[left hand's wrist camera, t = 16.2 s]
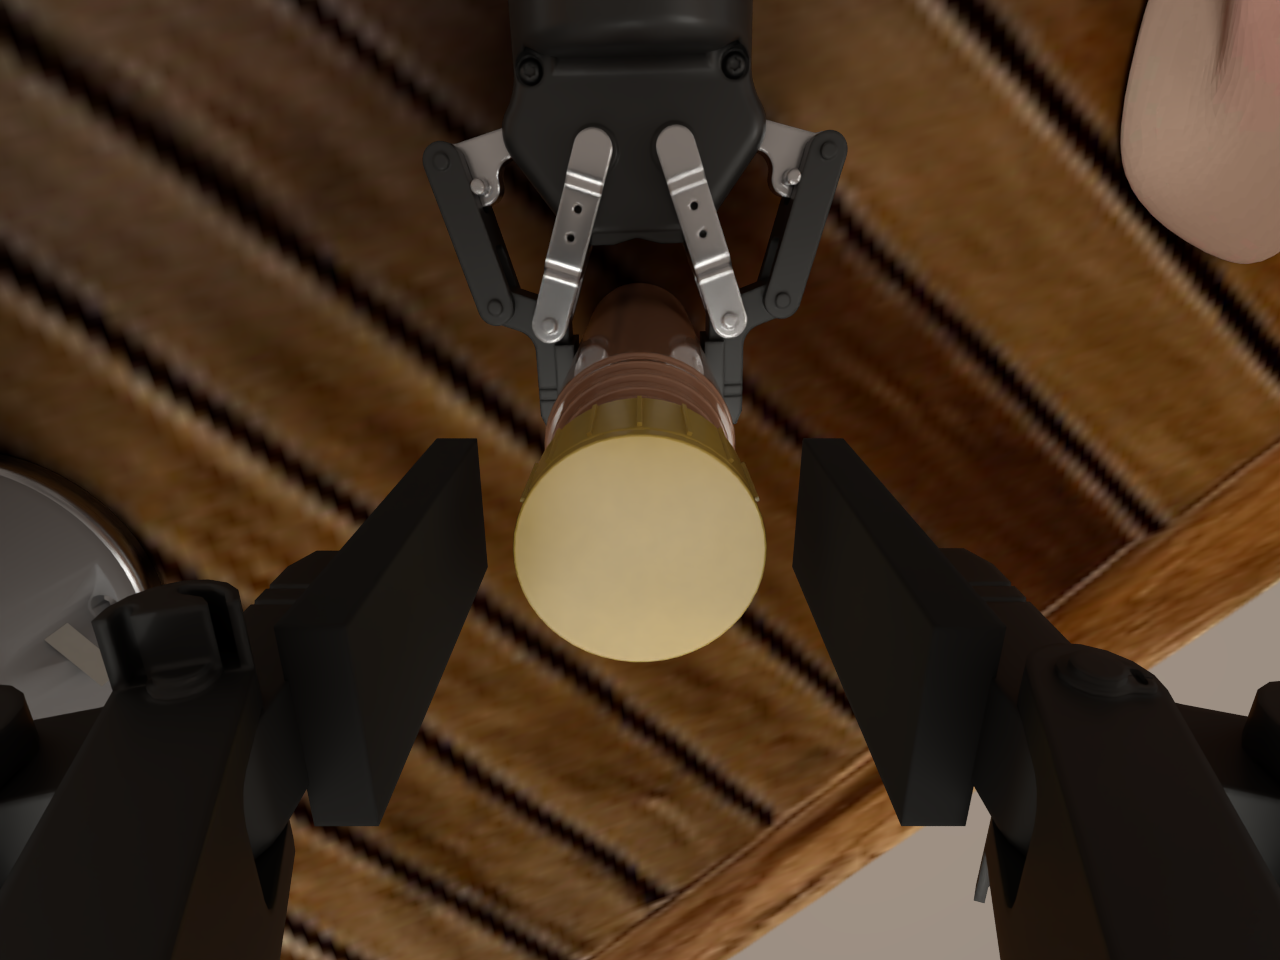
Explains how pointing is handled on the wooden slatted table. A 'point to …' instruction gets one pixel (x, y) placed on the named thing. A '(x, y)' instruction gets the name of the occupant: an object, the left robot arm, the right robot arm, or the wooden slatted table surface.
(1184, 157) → the anatomical model
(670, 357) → the bottle
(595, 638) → the cap
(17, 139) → the wooden slatted table surface
